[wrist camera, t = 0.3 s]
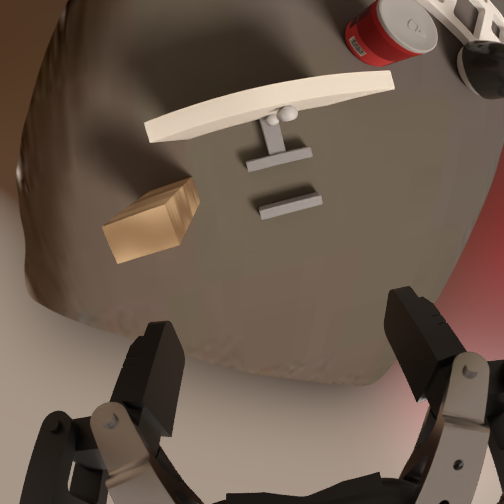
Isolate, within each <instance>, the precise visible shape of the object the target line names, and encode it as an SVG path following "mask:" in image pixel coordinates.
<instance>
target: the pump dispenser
mask: <svg viewBox="0 0 504 504" xmlns="http://www.w3.org/2000/svg"><path fill="white" fill-rule="evenodd" d="M457 67H458V71H459V74H460V76H461V78H462V80H463V82H464V83H465V84H466V86H467V87H468V88H469V89H470V90H471V91H473V92H474V93H476V94H477V95H480V96H482V97H483V98H485V99H491V100H492V99H502V98H504V43H500V42H496V41H489V40H474V41H469V42H467V43H466V44H465V45H464V47H462V48H461V50H460V51H459V53H458V57H457Z"/></svg>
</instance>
